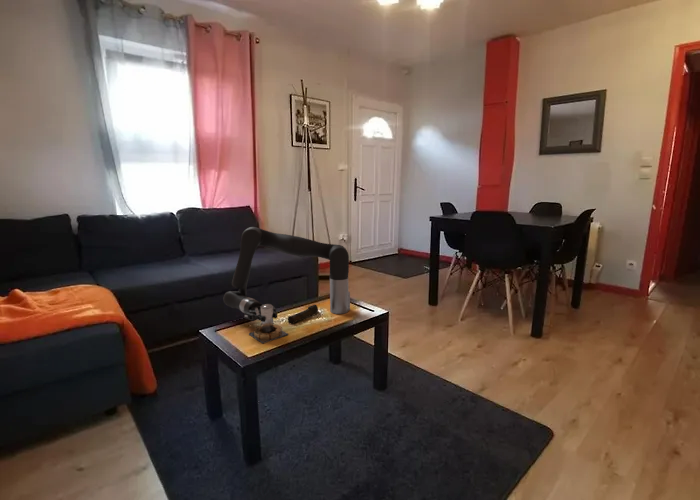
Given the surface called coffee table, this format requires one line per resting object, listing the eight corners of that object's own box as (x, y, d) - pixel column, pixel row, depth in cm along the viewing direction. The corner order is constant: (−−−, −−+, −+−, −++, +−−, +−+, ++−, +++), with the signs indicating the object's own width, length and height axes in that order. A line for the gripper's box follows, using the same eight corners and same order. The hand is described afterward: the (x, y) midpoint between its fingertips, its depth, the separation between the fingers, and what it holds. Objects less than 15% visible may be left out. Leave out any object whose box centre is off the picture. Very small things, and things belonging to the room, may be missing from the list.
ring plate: (273, 327, 163) (273, 321, 163) (288, 335, 154) (287, 329, 154) (248, 334, 155) (248, 329, 155) (262, 343, 146) (262, 338, 146)
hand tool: (293, 325, 165) (293, 315, 164) (287, 323, 168) (287, 313, 167) (321, 313, 180) (321, 304, 179) (316, 312, 182) (315, 303, 181)
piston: (269, 326, 158) (268, 303, 156) (275, 329, 154) (274, 306, 152) (259, 329, 155) (258, 305, 153) (265, 332, 151) (264, 308, 149)
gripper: (235, 303, 158) (254, 313, 146) (264, 296, 168) (284, 305, 155) (236, 319, 160) (255, 331, 147) (265, 311, 169) (285, 321, 157)
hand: (270, 317), depth 151 cm, fingers closed on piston, 5 cm apart
